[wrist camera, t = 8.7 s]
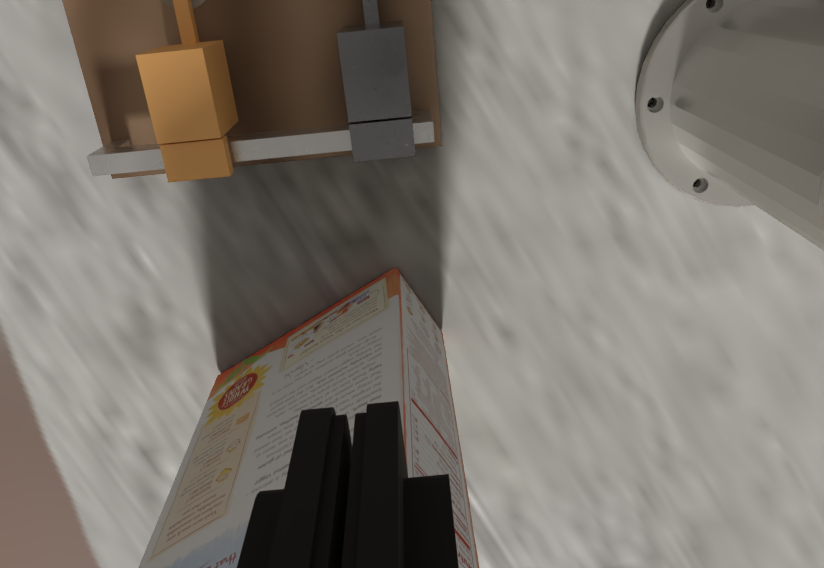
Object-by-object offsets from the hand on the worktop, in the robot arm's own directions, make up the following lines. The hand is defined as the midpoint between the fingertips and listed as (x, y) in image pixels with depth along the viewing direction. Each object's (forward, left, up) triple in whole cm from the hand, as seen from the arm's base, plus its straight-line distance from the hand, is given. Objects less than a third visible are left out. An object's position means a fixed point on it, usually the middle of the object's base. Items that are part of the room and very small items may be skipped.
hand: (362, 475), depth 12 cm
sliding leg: (+9, -4, -27) cm, 29 cm away
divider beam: (+6, -4, -28) cm, 29 cm away
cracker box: (+5, +14, -29) cm, 33 cm away
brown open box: (+6, -5, -29) cm, 30 cm away
